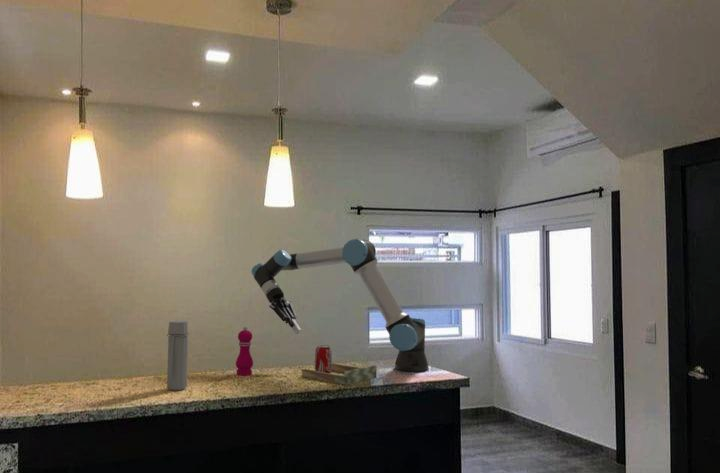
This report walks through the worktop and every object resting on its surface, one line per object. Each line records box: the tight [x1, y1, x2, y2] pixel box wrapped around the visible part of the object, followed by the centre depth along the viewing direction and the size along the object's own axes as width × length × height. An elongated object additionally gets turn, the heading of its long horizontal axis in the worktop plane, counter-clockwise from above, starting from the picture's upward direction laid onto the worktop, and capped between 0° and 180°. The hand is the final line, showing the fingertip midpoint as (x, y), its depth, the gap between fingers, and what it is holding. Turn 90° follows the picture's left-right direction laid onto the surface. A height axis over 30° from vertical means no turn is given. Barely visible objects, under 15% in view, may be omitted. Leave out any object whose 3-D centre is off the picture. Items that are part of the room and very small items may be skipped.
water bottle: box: [166, 320, 190, 392], centre depth 229 cm, size 9×8×25 cm
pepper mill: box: [235, 326, 254, 377], centre depth 261 cm, size 7×7×20 cm
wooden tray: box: [301, 362, 378, 385], centre depth 259 cm, size 20×24×5 cm
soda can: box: [314, 344, 333, 374], centre depth 264 cm, size 7×7×12 cm
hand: (298, 331), depth 274 cm, fingers closed
